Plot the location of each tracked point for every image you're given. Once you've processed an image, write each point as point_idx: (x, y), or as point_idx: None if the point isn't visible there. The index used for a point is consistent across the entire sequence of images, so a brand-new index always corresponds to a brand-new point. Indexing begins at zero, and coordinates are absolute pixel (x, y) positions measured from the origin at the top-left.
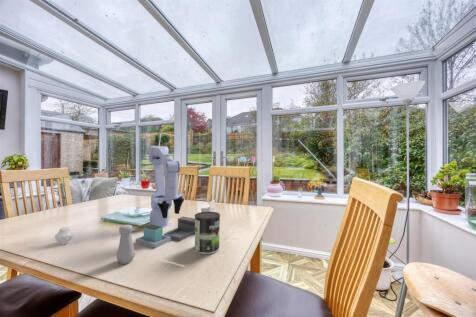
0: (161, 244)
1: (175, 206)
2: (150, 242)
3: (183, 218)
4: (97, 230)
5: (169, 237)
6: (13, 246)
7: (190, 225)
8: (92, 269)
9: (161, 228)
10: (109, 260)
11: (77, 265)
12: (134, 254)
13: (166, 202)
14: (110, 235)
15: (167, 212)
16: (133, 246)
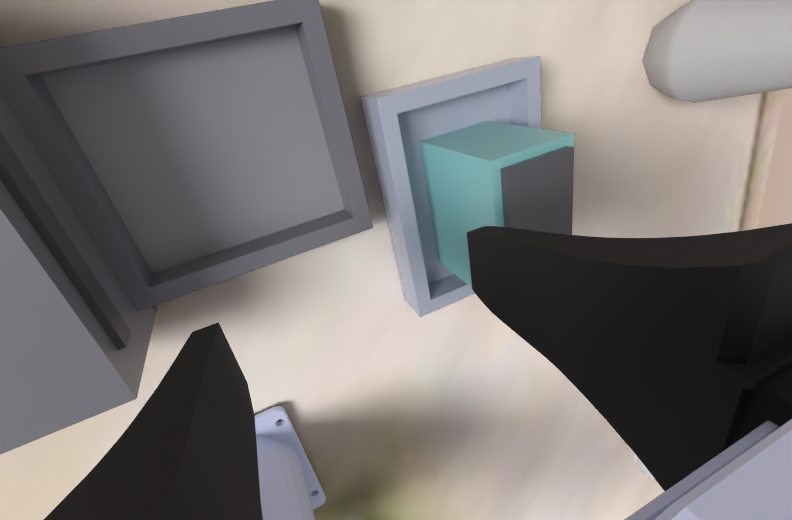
0: (467, 71)
1: (249, 491)
2: (537, 122)
3: (47, 360)
4: (518, 516)
5: (393, 94)
6: None
7: (10, 152)
8: (738, 104)
9: (499, 155)
10: (677, 136)
11: (726, 191)
12: (692, 6)
13: (764, 375)
14: (522, 435)
15: (533, 245)
16: (749, 10)
